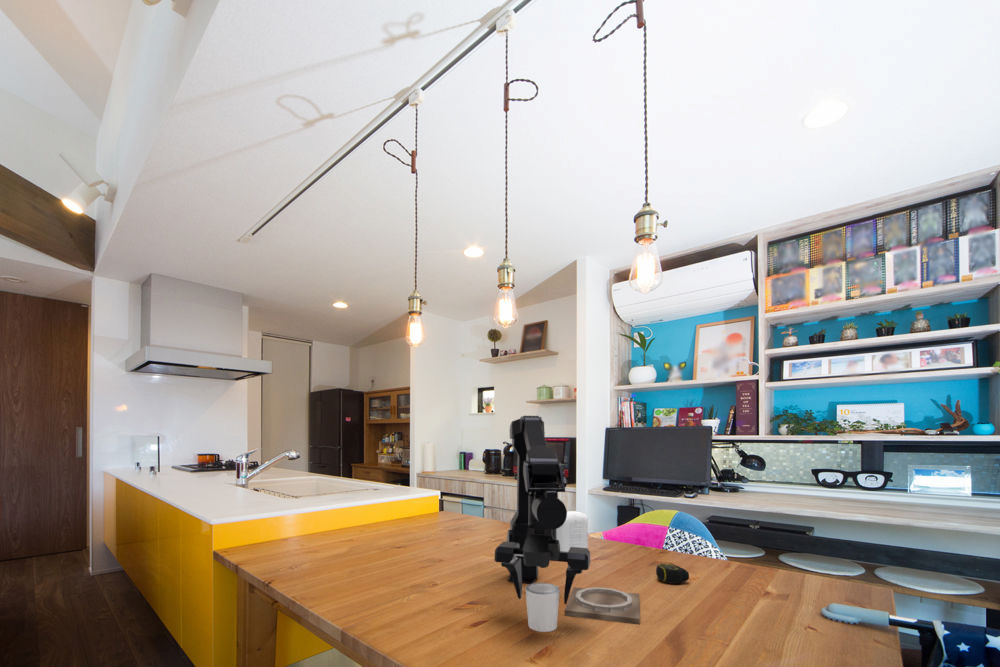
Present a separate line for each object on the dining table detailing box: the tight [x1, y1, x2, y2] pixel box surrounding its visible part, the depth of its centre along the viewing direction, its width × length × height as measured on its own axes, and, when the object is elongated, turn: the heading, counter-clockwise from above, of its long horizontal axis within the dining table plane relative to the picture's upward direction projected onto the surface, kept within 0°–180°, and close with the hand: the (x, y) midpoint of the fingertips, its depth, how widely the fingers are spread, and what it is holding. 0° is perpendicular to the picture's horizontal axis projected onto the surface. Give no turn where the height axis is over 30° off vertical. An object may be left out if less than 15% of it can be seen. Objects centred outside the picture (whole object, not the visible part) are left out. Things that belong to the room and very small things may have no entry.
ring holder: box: [564, 586, 641, 625], centre depth 107 cm, size 15×15×2 cm
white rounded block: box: [557, 510, 589, 552], centre depth 150 cm, size 10×4×12 cm, turn 114°
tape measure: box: [655, 563, 690, 584], centre depth 125 cm, size 7×7×4 cm
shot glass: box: [525, 582, 560, 633], centre depth 98 cm, size 7×7×7 cm
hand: (542, 600), depth 98 cm, fingers open, 9 cm apart
